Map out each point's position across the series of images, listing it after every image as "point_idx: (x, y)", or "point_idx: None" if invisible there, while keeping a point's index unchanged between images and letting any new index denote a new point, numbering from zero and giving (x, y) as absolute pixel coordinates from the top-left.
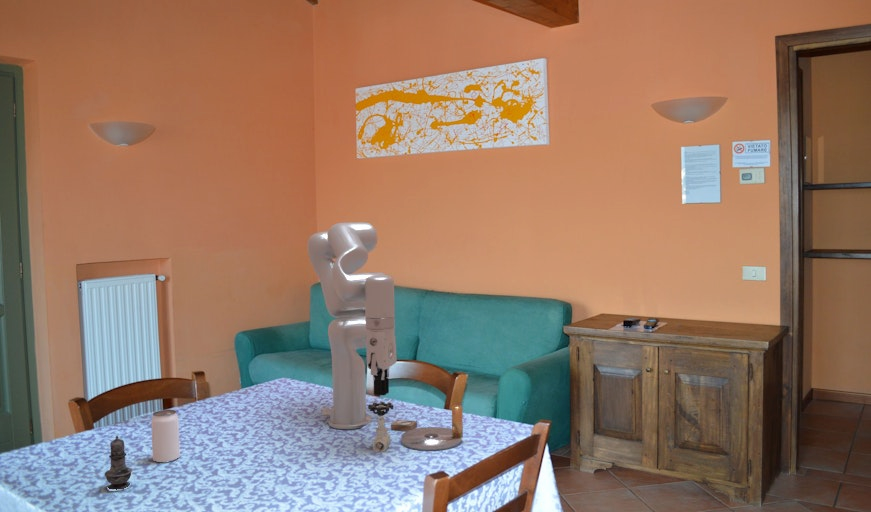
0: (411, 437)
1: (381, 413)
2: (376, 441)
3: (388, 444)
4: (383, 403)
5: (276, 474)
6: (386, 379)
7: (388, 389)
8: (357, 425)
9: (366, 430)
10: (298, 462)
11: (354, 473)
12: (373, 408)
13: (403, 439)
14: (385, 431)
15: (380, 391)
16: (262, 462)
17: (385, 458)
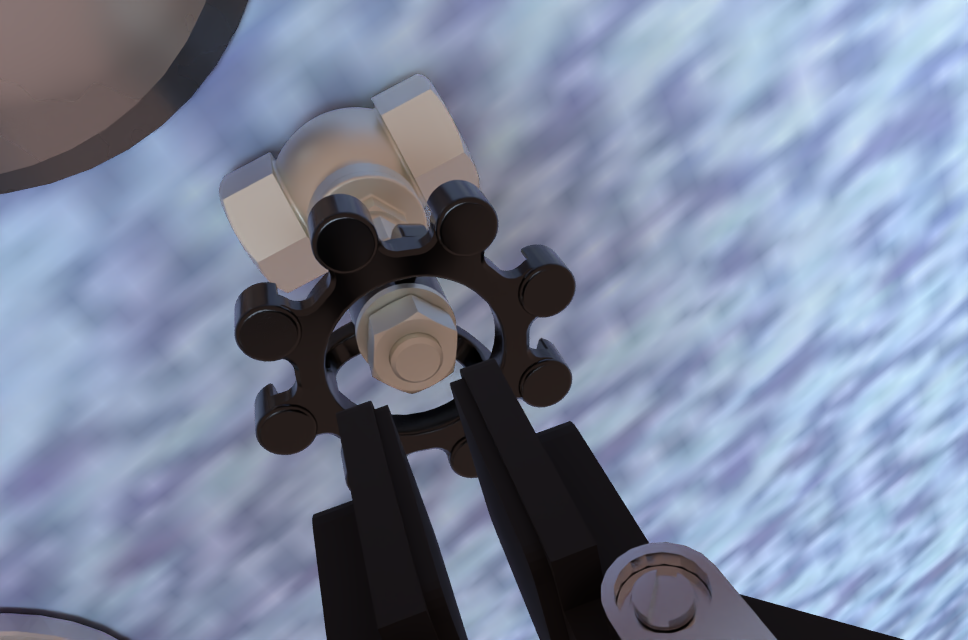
0: (55, 9)
1: (435, 279)
2: (473, 166)
3: (345, 109)
4: (314, 396)
5: (924, 378)
6: (446, 605)
7: (354, 442)
8: (53, 634)
9: (29, 557)
10: (753, 422)
11: (836, 18)
12: (549, 354)
13: (170, 47)
14: (374, 169)
15: (573, 437)
16: (797, 538)
17: (491, 8)
